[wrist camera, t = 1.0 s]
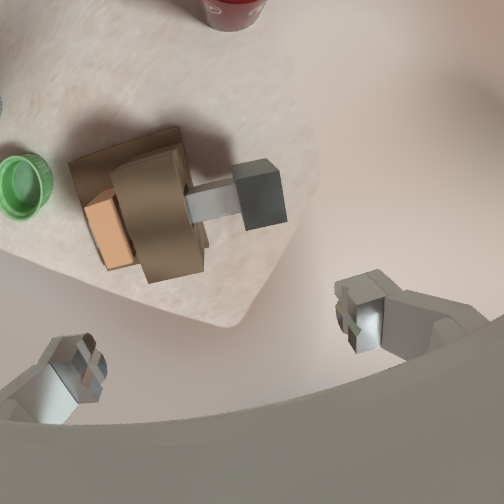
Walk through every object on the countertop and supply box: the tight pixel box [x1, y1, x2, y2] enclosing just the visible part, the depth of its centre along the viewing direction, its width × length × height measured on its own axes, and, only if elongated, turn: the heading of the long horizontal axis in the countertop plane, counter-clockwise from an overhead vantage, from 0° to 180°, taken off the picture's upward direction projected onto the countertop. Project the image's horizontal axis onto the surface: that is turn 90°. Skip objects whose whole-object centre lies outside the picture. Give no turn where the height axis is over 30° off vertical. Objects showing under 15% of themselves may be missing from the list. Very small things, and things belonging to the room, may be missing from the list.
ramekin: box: [0, 154, 53, 222], centre depth 32 cm, size 9×9×4 cm
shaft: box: [88, 158, 287, 248], centre depth 31 cm, size 5×20×7 cm, turn 101°
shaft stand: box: [68, 127, 209, 284], centre depth 33 cm, size 16×15×11 cm
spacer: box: [84, 188, 137, 269], centre depth 31 cm, size 7×3×6 cm, turn 11°
